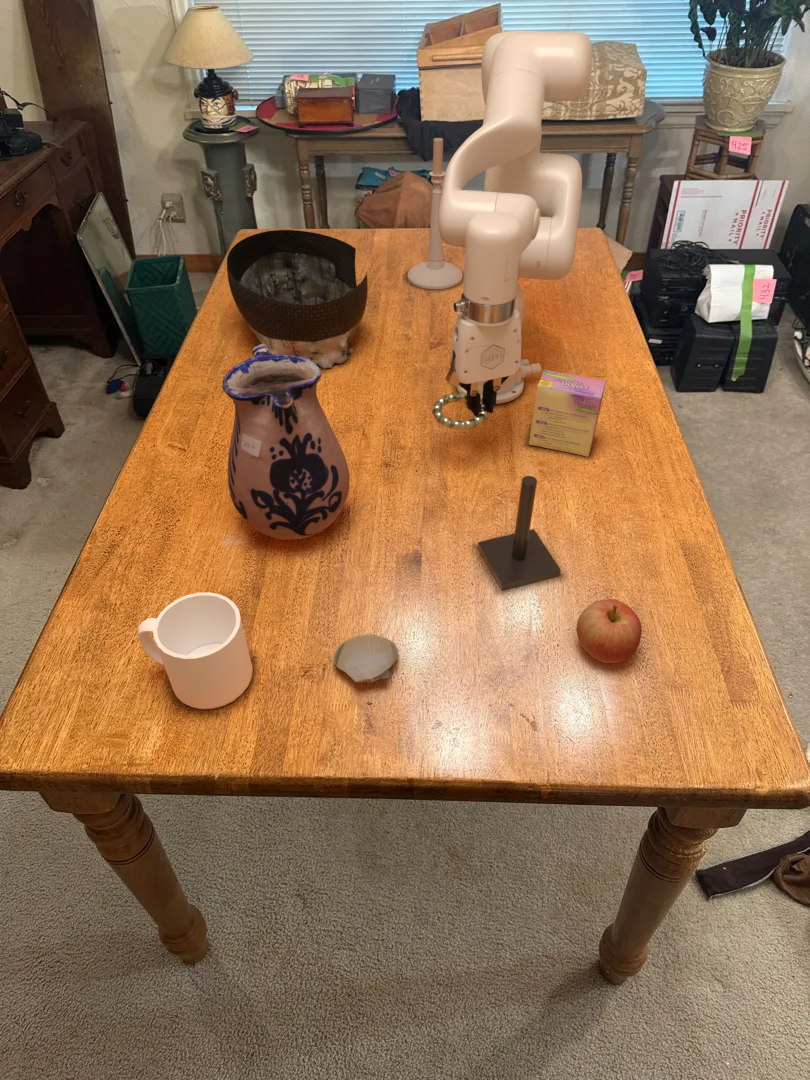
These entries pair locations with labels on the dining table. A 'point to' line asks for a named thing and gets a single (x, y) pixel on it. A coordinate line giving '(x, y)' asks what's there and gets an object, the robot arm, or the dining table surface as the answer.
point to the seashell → (366, 657)
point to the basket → (298, 293)
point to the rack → (520, 548)
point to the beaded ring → (457, 423)
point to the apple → (609, 631)
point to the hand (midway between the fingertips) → (480, 409)
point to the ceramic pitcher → (283, 448)
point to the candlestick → (435, 238)
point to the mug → (200, 649)
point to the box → (566, 412)
